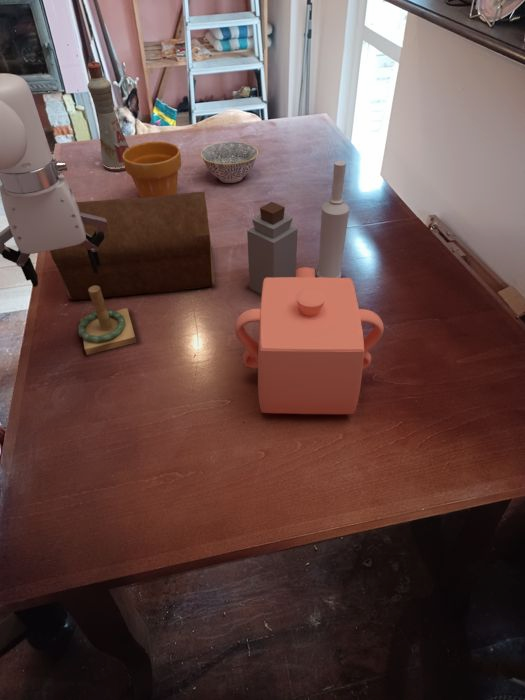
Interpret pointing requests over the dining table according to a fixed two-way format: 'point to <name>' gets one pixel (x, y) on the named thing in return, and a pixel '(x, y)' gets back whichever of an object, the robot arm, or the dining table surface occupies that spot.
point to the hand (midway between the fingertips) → (66, 275)
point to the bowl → (229, 160)
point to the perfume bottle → (271, 246)
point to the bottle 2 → (333, 227)
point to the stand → (106, 325)
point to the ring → (103, 337)
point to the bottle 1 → (107, 119)
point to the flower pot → (153, 168)
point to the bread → (142, 247)
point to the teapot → (309, 344)
